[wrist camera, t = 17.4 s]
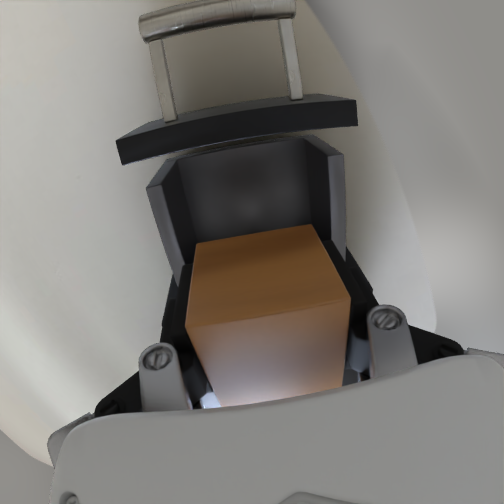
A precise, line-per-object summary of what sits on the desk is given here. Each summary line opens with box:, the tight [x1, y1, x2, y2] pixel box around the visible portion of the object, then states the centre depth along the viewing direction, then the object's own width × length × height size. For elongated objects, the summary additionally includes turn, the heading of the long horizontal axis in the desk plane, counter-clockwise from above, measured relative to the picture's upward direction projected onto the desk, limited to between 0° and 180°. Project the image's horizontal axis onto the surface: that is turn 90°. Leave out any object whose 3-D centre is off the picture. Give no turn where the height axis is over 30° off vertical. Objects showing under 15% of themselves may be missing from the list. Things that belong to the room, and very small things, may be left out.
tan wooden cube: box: [185, 224, 351, 407], centre depth 11 cm, size 4×4×4 cm
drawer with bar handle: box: [116, 0, 358, 286], centre depth 16 cm, size 18×10×6 cm, turn 8°
